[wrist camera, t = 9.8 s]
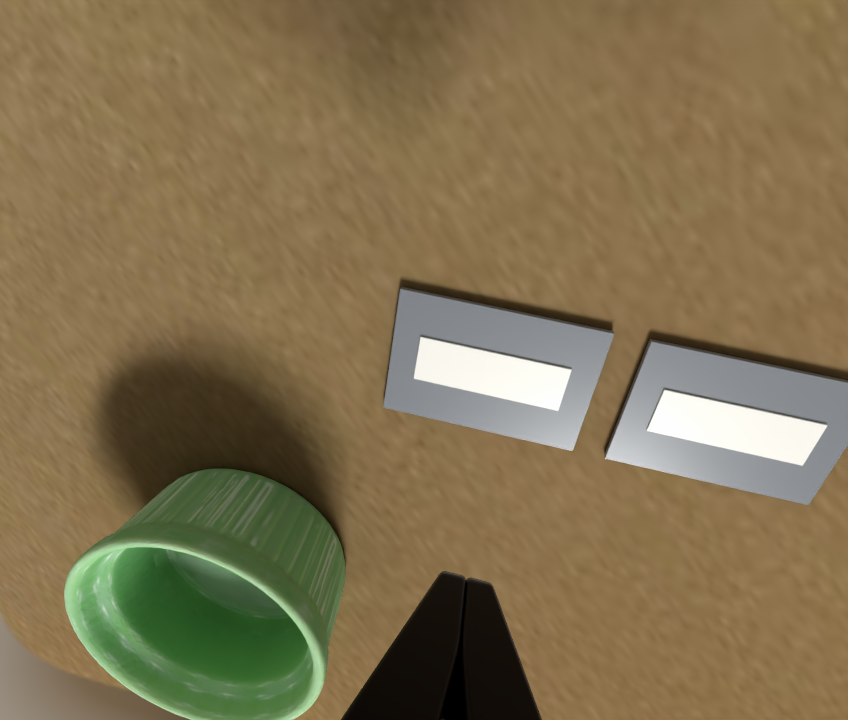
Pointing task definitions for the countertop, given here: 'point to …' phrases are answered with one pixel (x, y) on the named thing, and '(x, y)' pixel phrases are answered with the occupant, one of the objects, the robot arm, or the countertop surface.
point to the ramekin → (214, 598)
